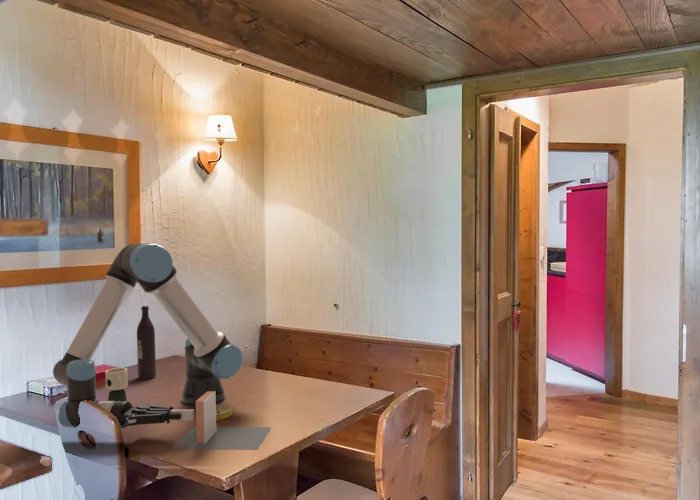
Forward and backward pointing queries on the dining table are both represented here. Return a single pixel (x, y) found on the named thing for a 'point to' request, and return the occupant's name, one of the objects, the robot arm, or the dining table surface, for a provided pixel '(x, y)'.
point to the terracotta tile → (206, 417)
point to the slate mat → (227, 439)
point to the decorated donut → (223, 412)
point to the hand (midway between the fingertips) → (193, 414)
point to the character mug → (116, 383)
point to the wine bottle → (146, 346)
